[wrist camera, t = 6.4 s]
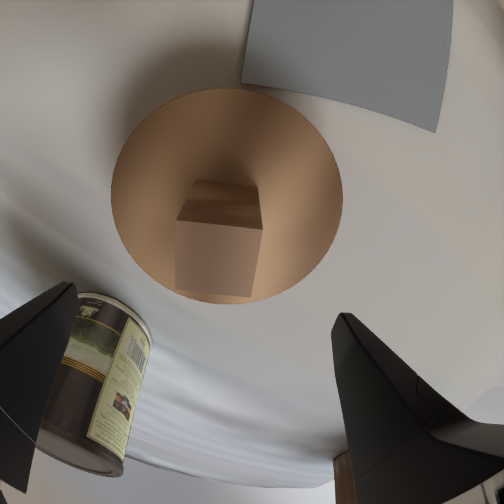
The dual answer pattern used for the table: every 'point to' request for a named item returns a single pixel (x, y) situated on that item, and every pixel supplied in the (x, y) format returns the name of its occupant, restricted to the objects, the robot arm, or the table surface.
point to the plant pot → (344, 480)
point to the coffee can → (96, 387)
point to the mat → (355, 53)
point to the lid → (226, 196)
